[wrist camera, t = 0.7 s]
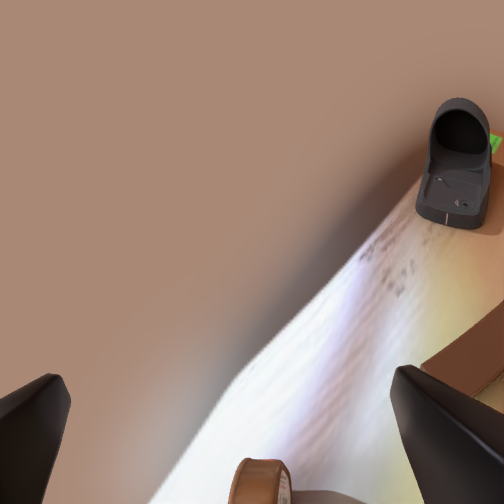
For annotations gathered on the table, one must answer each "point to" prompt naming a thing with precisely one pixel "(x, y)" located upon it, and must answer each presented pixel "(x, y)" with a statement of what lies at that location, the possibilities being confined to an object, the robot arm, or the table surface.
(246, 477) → the tin
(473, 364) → the chocolate bar
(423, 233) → the table surface
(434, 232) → the table surface
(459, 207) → the sight
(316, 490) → the table surface
